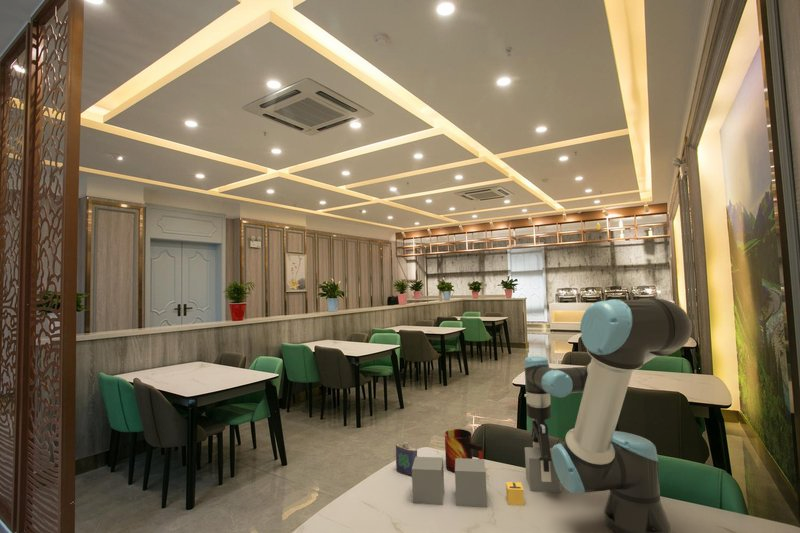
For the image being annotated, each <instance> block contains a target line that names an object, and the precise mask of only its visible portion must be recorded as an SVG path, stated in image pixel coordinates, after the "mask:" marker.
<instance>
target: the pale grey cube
mask: <svg viewBox="0 0 800 533" xmlns="http://www.w3.org/2000/svg"><path fill="white" fill-rule="evenodd" d="M552 448H553V447H550V452H551V458H552ZM539 458H541V453H540V448H535V447H533V446H532V447H530V446H526V447H524V459H525V461H524V462H525V463H524V464H525V478H526V482H527V484H528V488H529V490H530V492H543V493H544V492H547V493H561V492H562V491H561V482H560V480H559V478H558V476H557V473H556V471H555V468H554V464H553V460H552V461H550V468H551V482H542V478H541V460H539Z"/></svg>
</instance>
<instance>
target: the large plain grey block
mask: <svg viewBox="0 0 800 533" xmlns="http://www.w3.org/2000/svg"><path fill="white" fill-rule="evenodd" d="M444 472H445V471H444V457H435V456H434V457H433V456H431V457H430V456H417V457H415V460H414V463H413V466H412V476H411V484H412V485H411V486H412V489H411V490H412V504H424V505H425V504H426V505H441V506H443V505H444V497H445V496H444V493H445V480H444V479H445V478H444V476H445V475H444Z"/></svg>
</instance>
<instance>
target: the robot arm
mask: <svg viewBox="0 0 800 533" xmlns="http://www.w3.org/2000/svg"><path fill="white" fill-rule="evenodd" d="M579 330H580V332H581V335H580V338H581V341H582V344H583V345H584V347H585V349H586V351H587V354H588V355H589V356H590V358H591V360H590V362H589V363H588V364H587V365H585V366H576V367H557V368H556V367H555V368H553V367H550V364H549V360H548V358H547V357H544V356H539V355H538V356H537V355H536V356H533V355H531V356H527V357H526V358H525V359H524V367H523V369H524V381H525V393H524V397H525V399H526V416H527V417H529V418H530V419H531V435H530V437H531V439H532V447H535V448H540V453H541V458H539V460H541V478H542V482H551V468H550V461H552V460H553V464H554V468H555V471H556V473H557V476H558V478H559V480H560V484H561V485H562V487H563V488H564V489H565V490H566V491H567V492H569V493H572V494H583V495H584V494H587V493H594V492H595V493H596V492H604V491H605V492H606V491H609V493H608V495H607V499H606V501H605V505H604V507H603V508H604V510H603V516H604V522H605V524H606V526H607V527H608V528H609V529H610V530H611V531H613V532H614V533H672V528H671V524H670V521H669V518H668V516H667V513H666V511H665V508H664V507H663V504H662V501H661V490H660V475H659V458H658V453H657V452H658V451H657V447H656V445H655V444H654V443H653V442H652V441H651V440H649V439H647V438H645V437H643V436H640V435H636V434H634V433H629V432H625V431H619V430H616V428H617V424H618V421H619V418H620V414H621V411H622V408H623V405H624V401H625V398H626V394H627V391H628V387H629V385H630V381H631V377H632V374H633V371H636V370H637V371H638V370H639V369H641V368H642V367H643V365H644V364H646V363H648V362H649V361H651V360H653V359H654V358H657V357H660V358H661V357H662V358H664V357H667V356H671V354H673V353H675V352H677V351H678V350H680V349H681V348H683V347H684V346H685V345H686V344H687V343H688V341H689V340H690V338H691V336H692V332H693V324H692V321H691V319H690V317H689V315H688V314H687V312H686V311H685V310H684V309H683V308H682V307H681V306H680V305H679V304H676V303H674V302H673V301H670V300H668V299H663V298H649V299H648V298H647V299H646V298H645V299H643V298H642V299H621V300H620V299H607V300H602V301H601V300H600V301H596V302H593V303H592V304H591V305H589V306H588V307H587V308H586V310H585V311H584V312H583V314H582V317H581V320H580V327H579ZM577 393H582V396H581V400H580V404H579V409H578V411H577V417H576V420H575V425H574V428H572V429H569V430H568V431H567V432H566V435H565V438H564V442H563V443H559V442H558V443H557V444H554V445H553V446H552V447H551V446H550V438H549V431H548V430H549V428H548V424H547V423H546V420H550V419H551V418H552V407H551V406H550V405H551V401H552V400H551V396H553V397H556V398H565V397H567V396H568V395H570V394H577ZM550 448H552V458H551V452H550Z"/></svg>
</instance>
